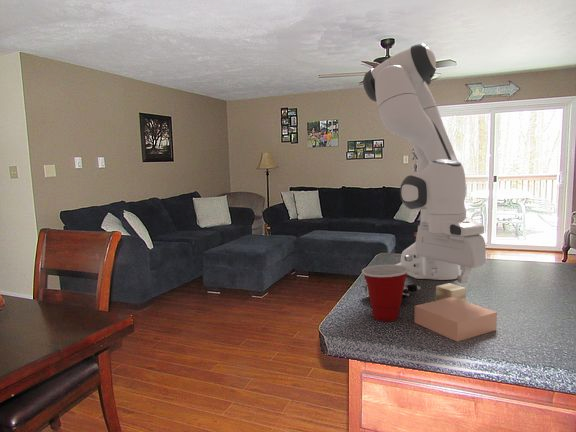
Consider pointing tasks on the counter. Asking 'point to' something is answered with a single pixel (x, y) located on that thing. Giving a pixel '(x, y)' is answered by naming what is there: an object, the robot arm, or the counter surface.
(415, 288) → the robot toy
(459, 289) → the maple cube
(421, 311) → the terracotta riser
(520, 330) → the counter surface
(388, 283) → the plastic cup
